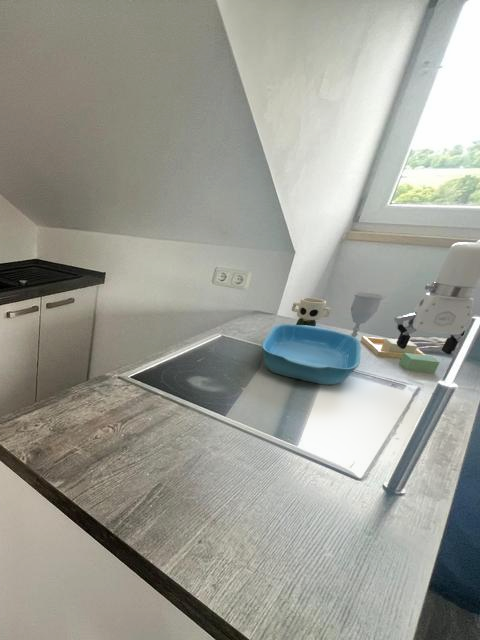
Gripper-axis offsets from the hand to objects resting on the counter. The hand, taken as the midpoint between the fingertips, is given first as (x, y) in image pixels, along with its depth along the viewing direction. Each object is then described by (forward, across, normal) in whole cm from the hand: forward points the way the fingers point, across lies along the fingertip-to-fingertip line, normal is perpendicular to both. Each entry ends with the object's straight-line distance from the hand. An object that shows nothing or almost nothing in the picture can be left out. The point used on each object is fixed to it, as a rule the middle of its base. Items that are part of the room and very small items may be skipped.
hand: (422, 349), depth 110 cm
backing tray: (+6, 0, +14) cm, 15 cm away
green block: (+6, 0, 0) cm, 6 cm away
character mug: (+7, -22, +22) cm, 32 cm away
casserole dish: (+7, -28, -7) cm, 29 cm away
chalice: (+7, -12, +13) cm, 19 cm away
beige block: (+6, 0, +11) cm, 12 cm away
